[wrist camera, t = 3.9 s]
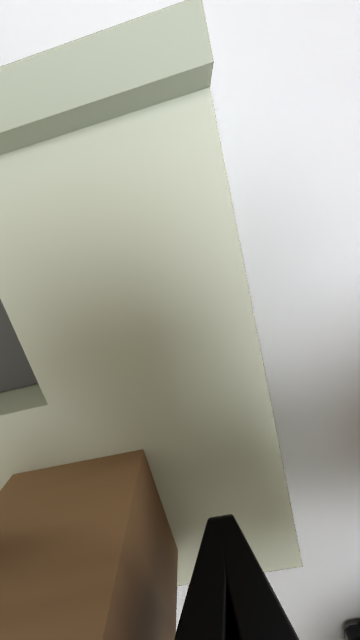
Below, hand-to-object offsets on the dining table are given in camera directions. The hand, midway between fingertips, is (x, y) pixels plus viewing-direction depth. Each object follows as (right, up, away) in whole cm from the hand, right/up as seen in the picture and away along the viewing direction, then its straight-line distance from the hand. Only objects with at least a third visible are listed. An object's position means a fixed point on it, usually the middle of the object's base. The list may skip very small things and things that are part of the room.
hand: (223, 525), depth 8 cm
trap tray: (-11, +2, +3) cm, 11 cm away
